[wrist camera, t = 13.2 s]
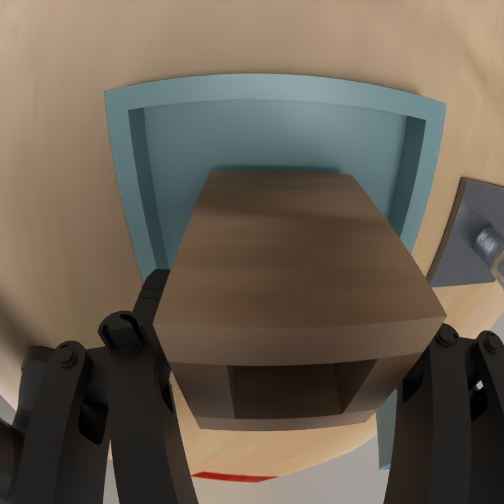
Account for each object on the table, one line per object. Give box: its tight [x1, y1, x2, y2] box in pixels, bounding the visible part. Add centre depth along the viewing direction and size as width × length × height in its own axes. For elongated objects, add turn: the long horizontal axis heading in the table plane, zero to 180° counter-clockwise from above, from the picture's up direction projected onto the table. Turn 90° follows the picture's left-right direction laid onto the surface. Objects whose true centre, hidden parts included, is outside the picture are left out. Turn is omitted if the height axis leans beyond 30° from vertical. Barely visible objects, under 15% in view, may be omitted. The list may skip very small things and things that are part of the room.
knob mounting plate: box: [426, 177, 504, 289], centre depth 13 cm, size 8×8×6 cm
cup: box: [376, 389, 397, 471], centre depth 20 cm, size 8×8×10 cm
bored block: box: [153, 171, 447, 431], centre depth 10 cm, size 6×6×8 cm
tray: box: [104, 74, 446, 283], centre depth 14 cm, size 14×14×2 cm
